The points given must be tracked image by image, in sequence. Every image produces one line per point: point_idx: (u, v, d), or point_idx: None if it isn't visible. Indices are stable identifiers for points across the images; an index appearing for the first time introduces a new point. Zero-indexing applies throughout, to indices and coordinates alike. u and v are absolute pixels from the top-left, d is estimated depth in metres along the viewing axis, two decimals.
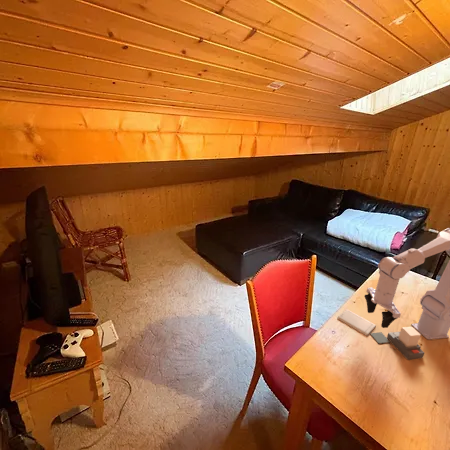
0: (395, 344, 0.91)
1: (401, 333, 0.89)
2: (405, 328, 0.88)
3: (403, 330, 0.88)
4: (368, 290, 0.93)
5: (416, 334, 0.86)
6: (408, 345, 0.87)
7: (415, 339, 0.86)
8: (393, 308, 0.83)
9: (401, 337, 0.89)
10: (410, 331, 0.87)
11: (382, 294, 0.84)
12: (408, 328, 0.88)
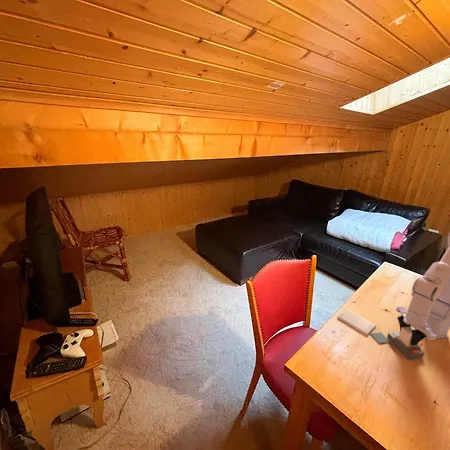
0: (395, 344, 0.91)
1: (401, 333, 0.89)
2: (405, 328, 0.88)
3: (403, 330, 0.88)
4: (398, 309, 0.91)
5: None
6: (408, 345, 0.87)
7: None
8: (427, 330, 0.81)
9: (401, 337, 0.89)
10: (410, 331, 0.87)
11: (416, 315, 0.82)
12: (408, 328, 0.88)
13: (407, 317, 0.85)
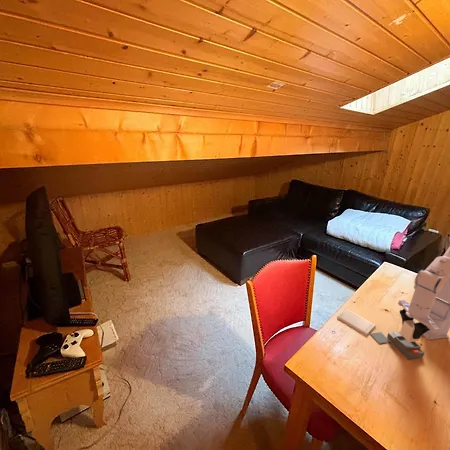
0: (395, 344, 0.91)
1: (403, 327, 0.88)
2: (407, 322, 0.87)
3: (405, 324, 0.87)
4: (400, 303, 0.90)
5: None
6: (410, 339, 0.86)
7: None
8: (430, 323, 0.80)
9: (403, 331, 0.88)
10: (412, 324, 0.86)
11: (418, 308, 0.81)
12: (411, 322, 0.87)
13: (409, 310, 0.84)
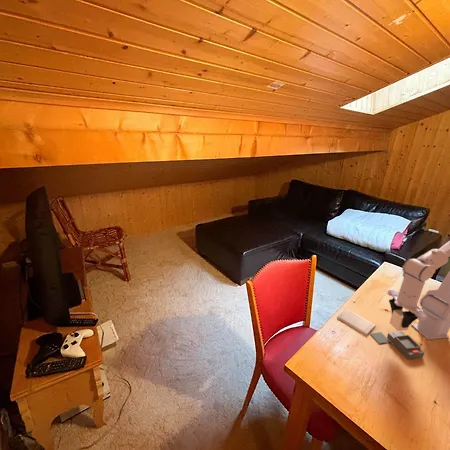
0: (395, 344, 0.91)
1: (393, 316, 0.89)
2: (396, 311, 0.88)
3: (394, 313, 0.88)
4: (390, 292, 0.91)
5: None
6: (399, 327, 0.87)
7: None
8: (418, 311, 0.81)
9: (393, 320, 0.89)
10: (401, 313, 0.87)
11: (407, 296, 0.82)
12: (400, 311, 0.88)
13: (398, 299, 0.85)
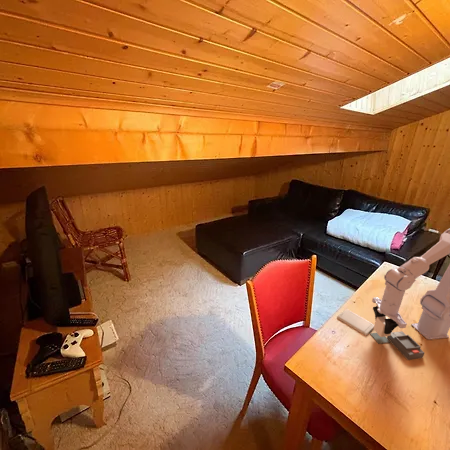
0: (395, 344, 0.91)
1: (376, 322, 0.93)
2: (380, 318, 0.93)
3: (378, 319, 0.92)
4: (374, 300, 0.95)
5: None
6: (382, 334, 0.91)
7: None
8: (399, 318, 0.85)
9: (376, 326, 0.93)
10: (384, 320, 0.91)
11: (388, 305, 0.87)
12: (383, 318, 0.93)
13: (381, 307, 0.90)
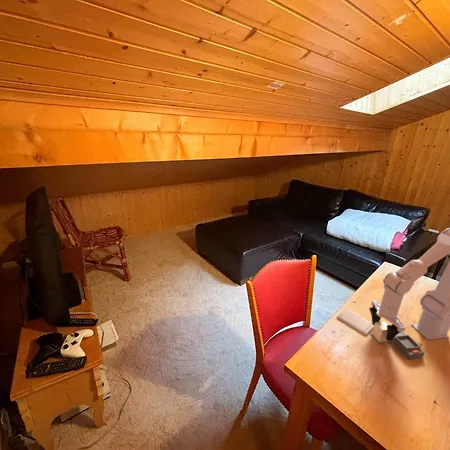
0: (395, 344, 0.91)
1: (374, 328, 0.94)
2: (378, 323, 0.94)
3: (376, 325, 0.93)
4: (373, 303, 0.96)
5: None
6: (380, 339, 0.92)
7: None
8: (398, 322, 0.86)
9: (375, 331, 0.94)
10: (382, 325, 0.92)
11: (387, 308, 0.87)
12: (381, 323, 0.94)
13: (380, 310, 0.90)
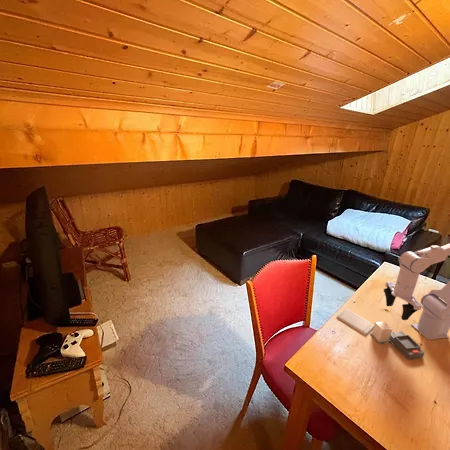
0: (395, 344, 0.91)
1: (374, 328, 0.94)
2: (378, 323, 0.94)
3: (376, 325, 0.93)
4: (387, 284, 0.96)
5: (388, 328, 0.91)
6: (380, 339, 0.92)
7: (387, 333, 0.91)
8: (414, 301, 0.86)
9: (374, 331, 0.94)
10: (382, 325, 0.92)
11: (403, 287, 0.87)
12: (381, 323, 0.94)
13: (395, 290, 0.90)
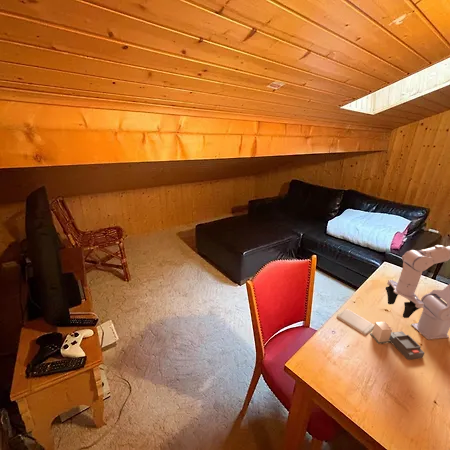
0: (395, 344, 0.91)
1: (374, 328, 0.94)
2: (378, 323, 0.94)
3: (376, 325, 0.93)
4: (389, 282, 0.97)
5: (388, 328, 0.91)
6: (380, 339, 0.92)
7: (387, 333, 0.91)
8: (416, 299, 0.87)
9: (374, 331, 0.94)
10: (382, 325, 0.92)
11: (405, 285, 0.88)
12: (381, 323, 0.94)
13: (397, 288, 0.91)
